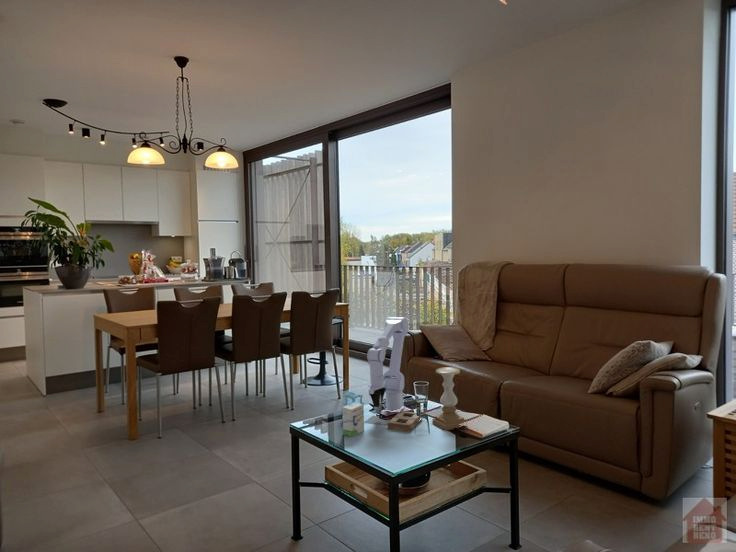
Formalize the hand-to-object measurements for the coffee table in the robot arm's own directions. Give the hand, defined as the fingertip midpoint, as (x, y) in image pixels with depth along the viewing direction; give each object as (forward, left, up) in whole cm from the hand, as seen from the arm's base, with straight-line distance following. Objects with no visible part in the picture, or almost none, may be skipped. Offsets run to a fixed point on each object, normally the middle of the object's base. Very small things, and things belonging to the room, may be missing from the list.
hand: (378, 405), depth 236 cm
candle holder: (-5, +31, -7) cm, 32 cm away
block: (+1, +13, -7) cm, 15 cm away
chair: (0, -12, -7) cm, 14 cm away
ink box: (+17, -4, -7) cm, 19 cm away
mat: (0, 0, -7) cm, 7 cm away
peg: (0, 0, -3) cm, 3 cm away
